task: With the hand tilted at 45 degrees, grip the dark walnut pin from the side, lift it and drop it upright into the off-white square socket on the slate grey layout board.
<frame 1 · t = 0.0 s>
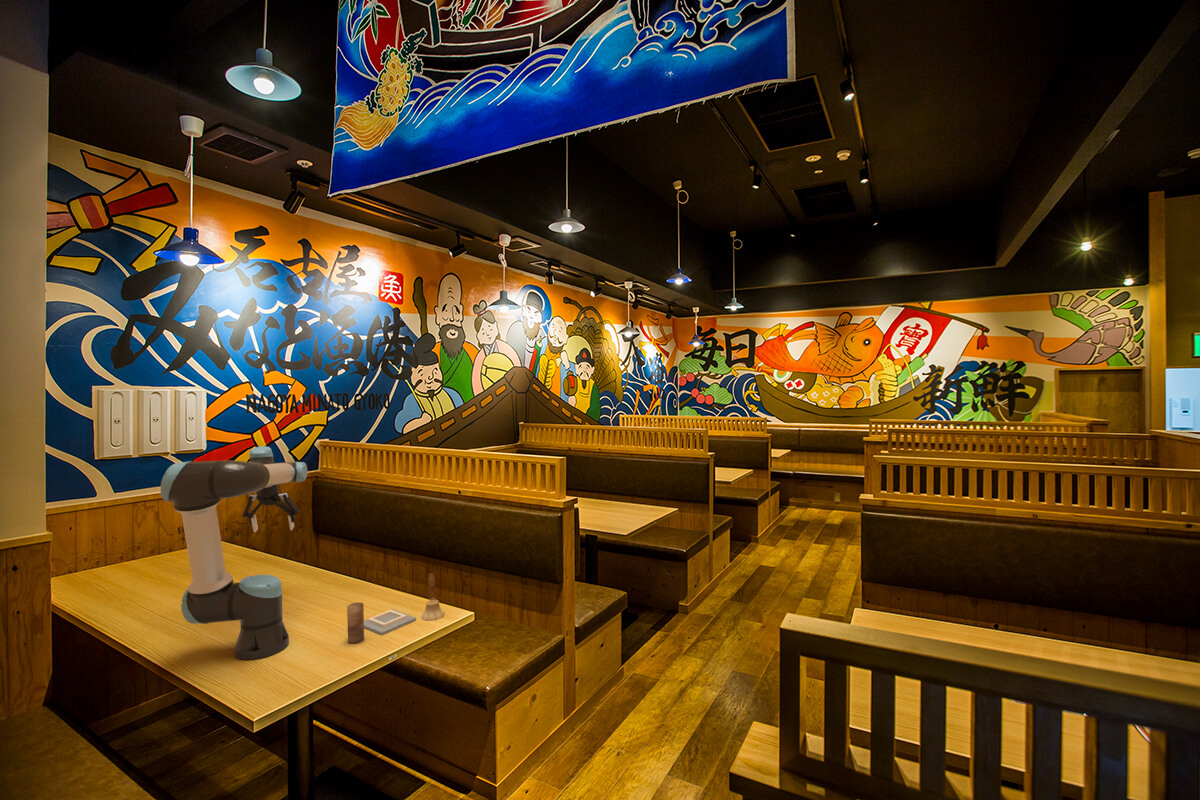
hand: (274, 529, 218), 28 cm above the table, tool tilted 20°, fingers open, 13 cm apart
walnut pin: (356, 640, 179), on the table
layout board: (387, 623, 192), on the table
hand bell: (432, 616, 198), on the table
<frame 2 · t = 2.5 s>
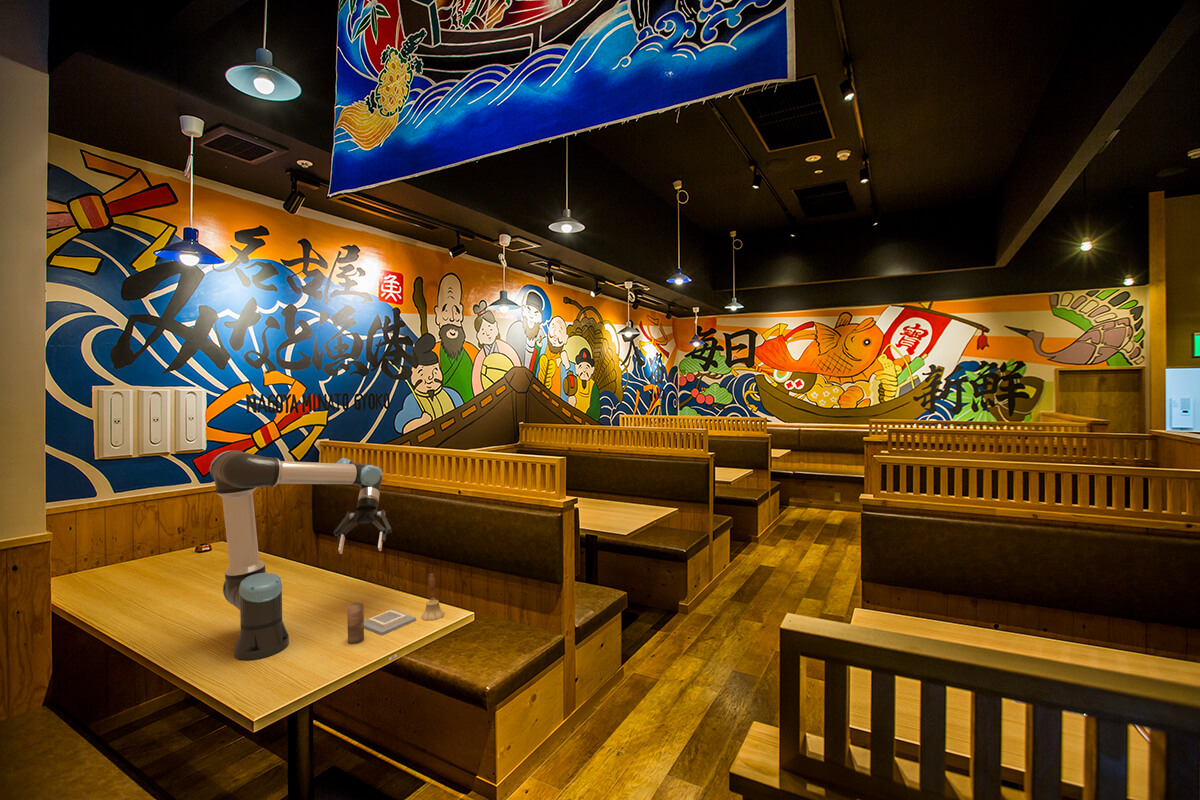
hand: (359, 550, 195), 26 cm above the table, tool tilted 45°, fingers open, 13 cm apart
nothing on the table moved.
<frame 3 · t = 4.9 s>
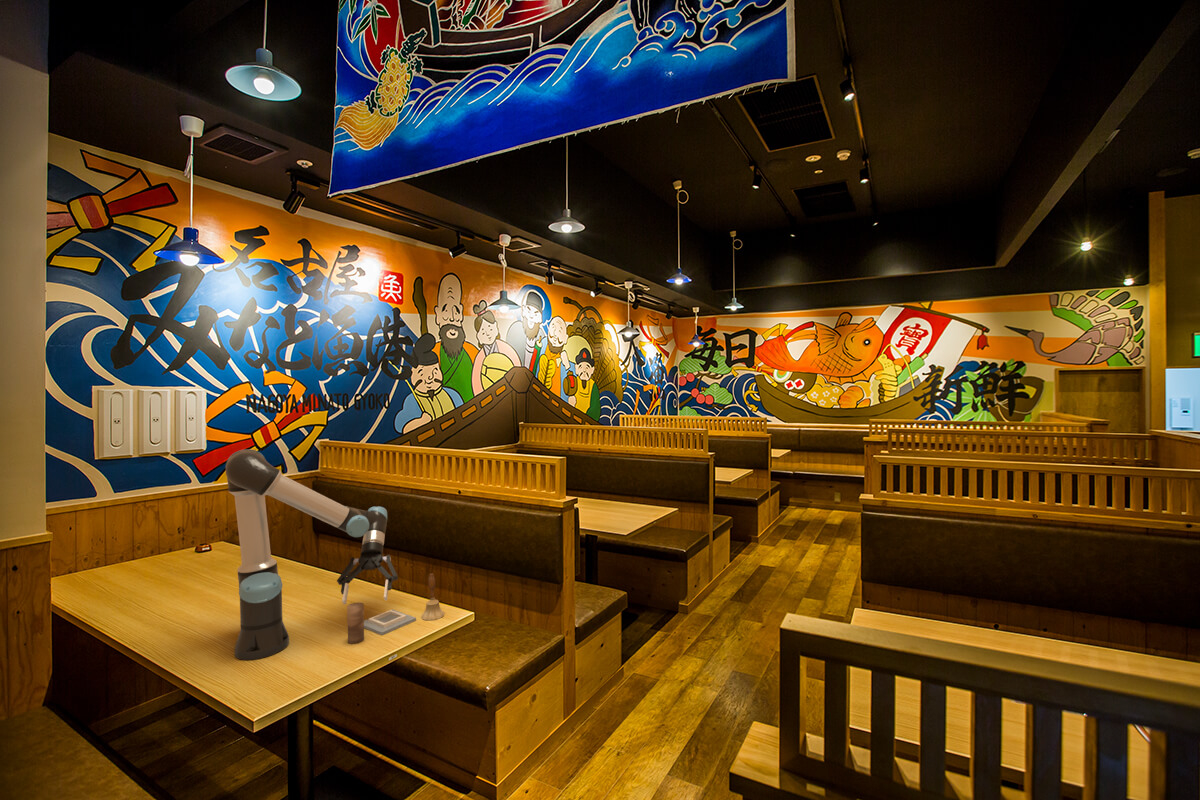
hand: (364, 600, 186), 11 cm above the table, tool tilted 45°, fingers open, 13 cm apart
nothing on the table moved.
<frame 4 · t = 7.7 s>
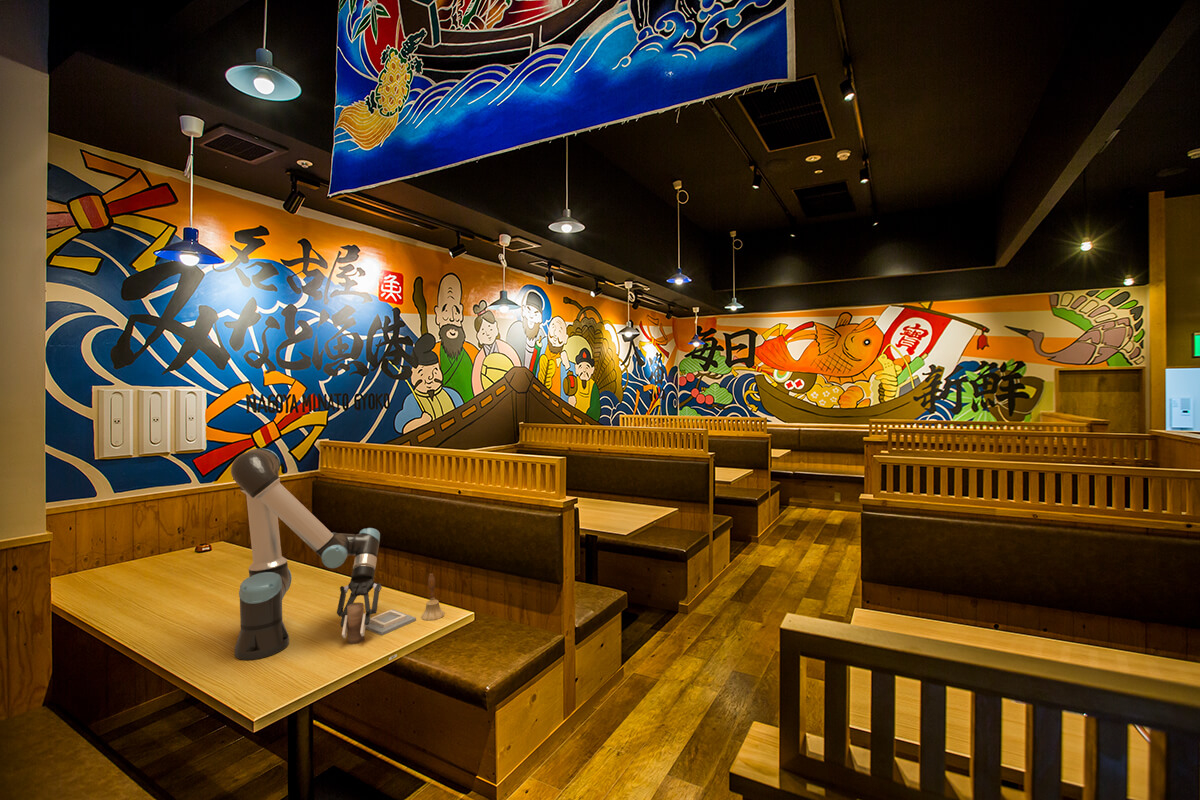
hand: (353, 635, 175), 4 cm above the table, tool tilted 45°, fingers closed on walnut pin, 5 cm apart
walnut pin: (356, 640, 179), on the table, touching gripper
everything else where it was.
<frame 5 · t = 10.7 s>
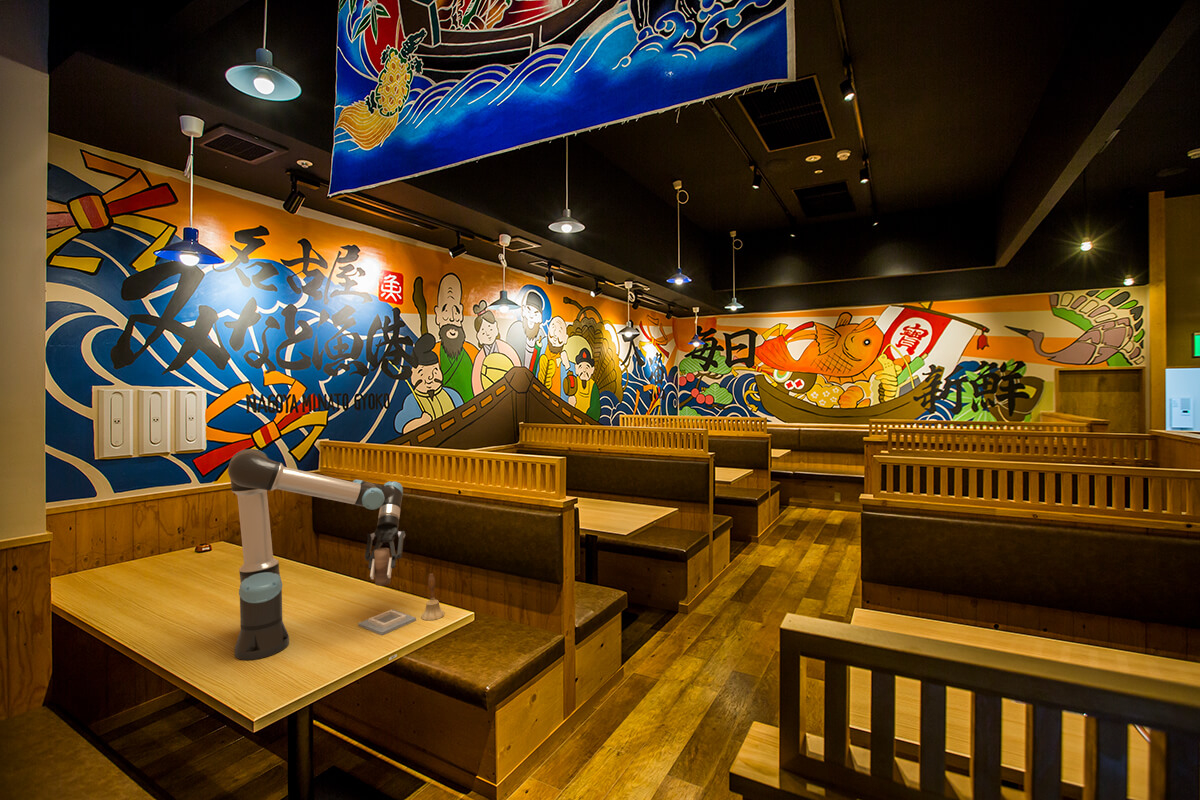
hand: (380, 577, 186), 19 cm above the table, tool tilted 45°, fingers closed on walnut pin, 5 cm apart
walnut pin: (383, 583, 190), point 15 cm above the table, touching gripper
everything else where it was.
when the fingers open (7 cm above the table, at t = 14.0 s): walnut pin drops 2 cm, resting on layout board.
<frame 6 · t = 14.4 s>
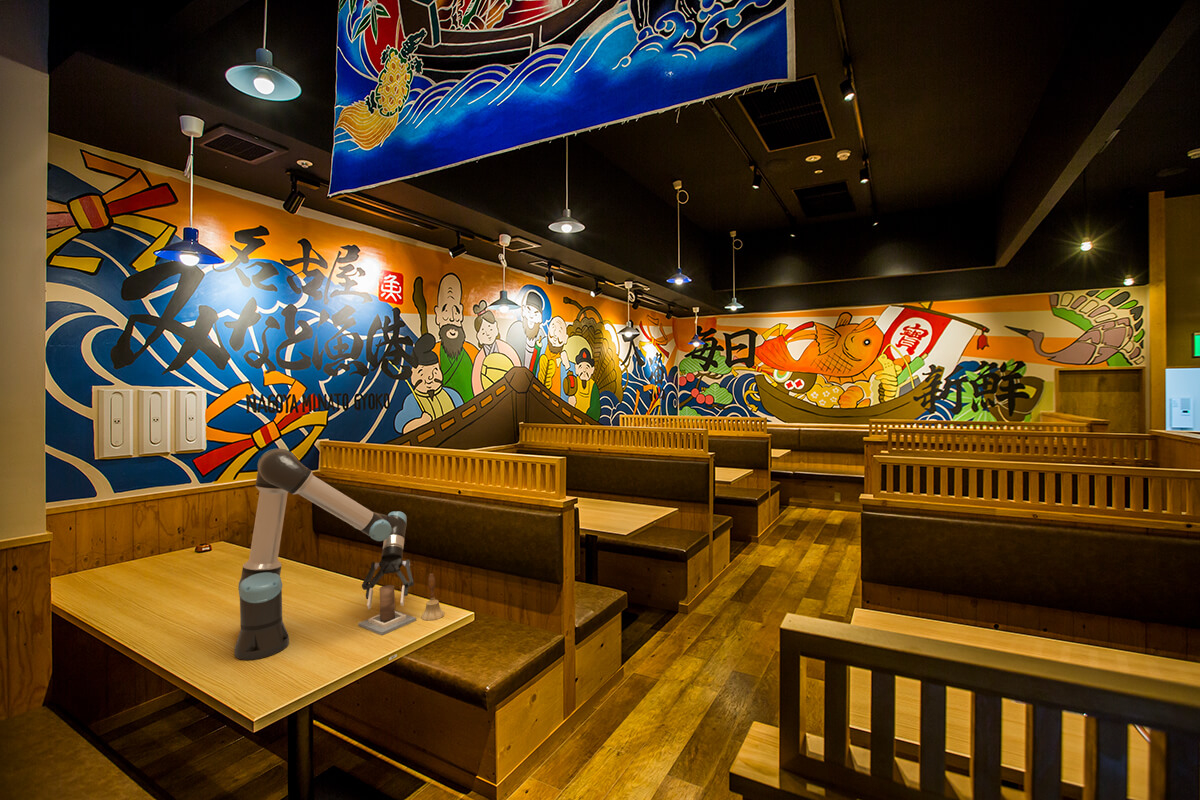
hand: (385, 605, 189), 7 cm above the table, tool tilted 45°, fingers open, 10 cm apart
walnut pin: (387, 620, 192), point 1 cm above the table, touching layout board
everything else where it was.
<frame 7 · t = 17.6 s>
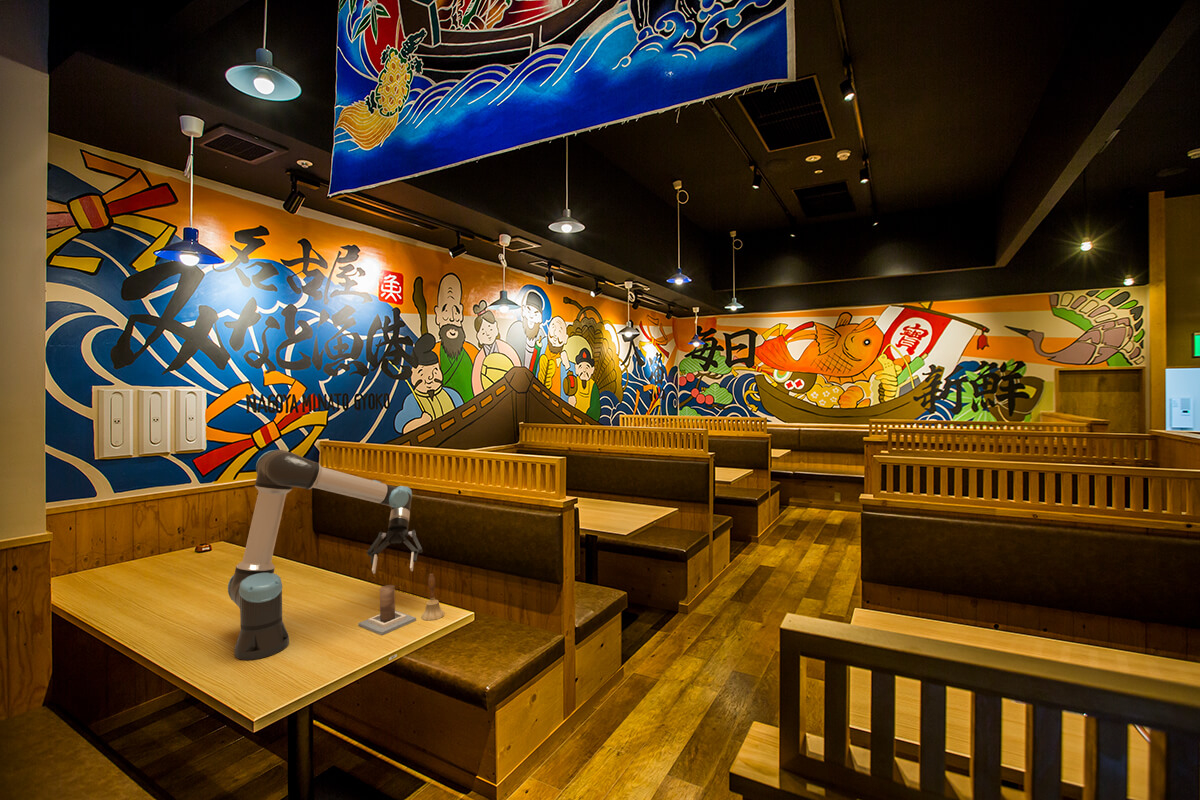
hand: (392, 570, 200), 16 cm above the table, tool tilted 45°, fingers open, 13 cm apart
nothing on the table moved.
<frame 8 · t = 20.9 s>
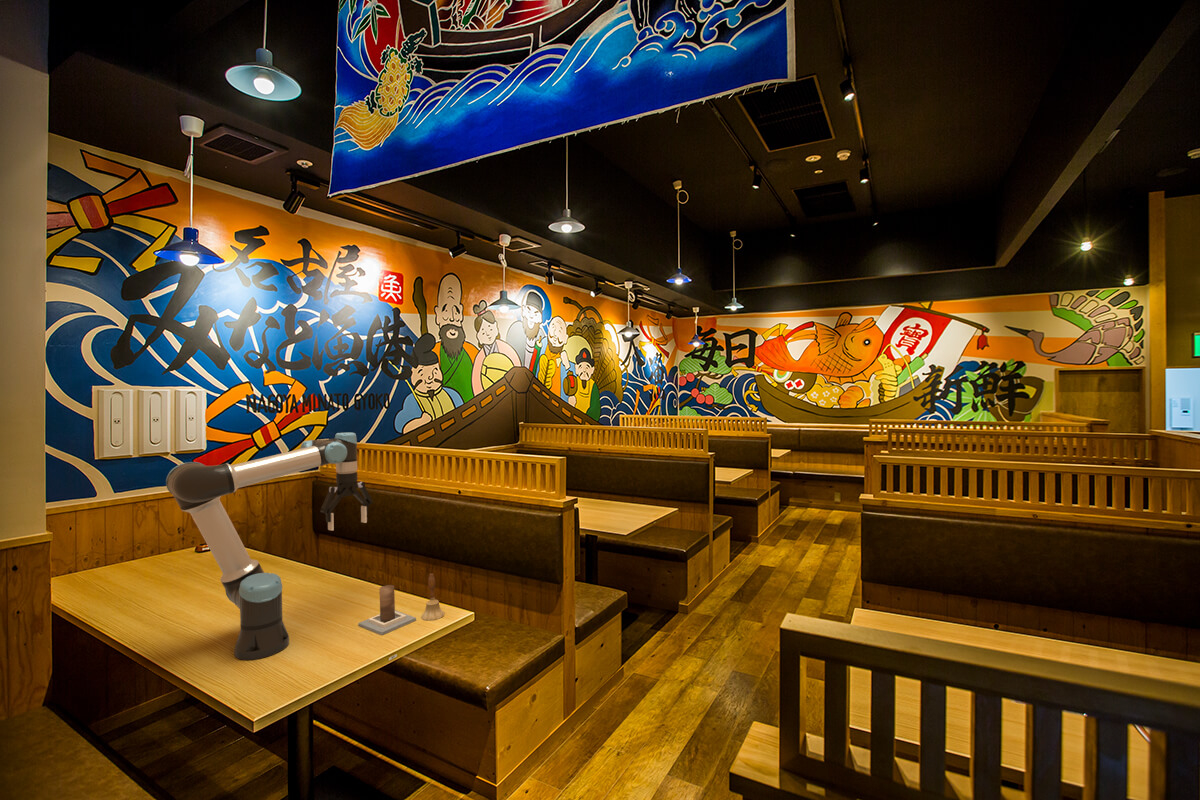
hand: (347, 526, 207), 32 cm above the table, tool pointing down, fingers open, 13 cm apart
nothing on the table moved.
at the end: walnut pin 0.1 cm off-centre on the layout board, point 1.0 cm above the layout board's base; walnut pin tilted 0°; the gripper is holding nothing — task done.
